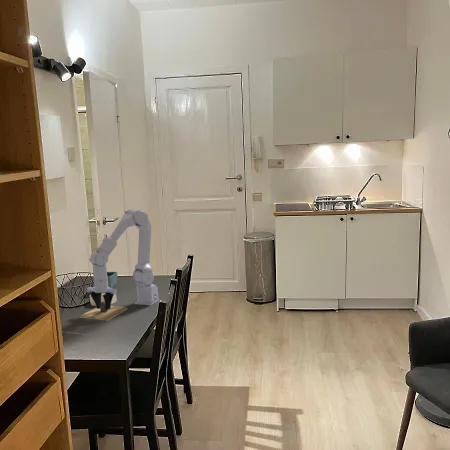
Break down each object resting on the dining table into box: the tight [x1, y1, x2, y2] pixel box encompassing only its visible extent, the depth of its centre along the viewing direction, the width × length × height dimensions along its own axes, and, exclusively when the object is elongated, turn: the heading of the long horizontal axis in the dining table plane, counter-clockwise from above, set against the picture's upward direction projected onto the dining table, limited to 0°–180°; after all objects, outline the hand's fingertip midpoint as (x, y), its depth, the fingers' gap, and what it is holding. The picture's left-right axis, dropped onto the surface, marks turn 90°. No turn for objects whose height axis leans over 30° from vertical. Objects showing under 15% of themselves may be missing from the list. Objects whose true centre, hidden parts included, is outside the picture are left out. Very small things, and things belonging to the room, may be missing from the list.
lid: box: [80, 301, 128, 321], centre depth 210 cm, size 14×14×5 cm
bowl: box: [89, 293, 118, 307], centre depth 226 cm, size 12×12×4 cm
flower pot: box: [107, 271, 118, 289], centre depth 245 cm, size 9×9×9 cm
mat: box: [79, 308, 128, 321], centre depth 211 cm, size 15×15×1 cm
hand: (103, 308), depth 210 cm, fingers open, 4 cm apart
